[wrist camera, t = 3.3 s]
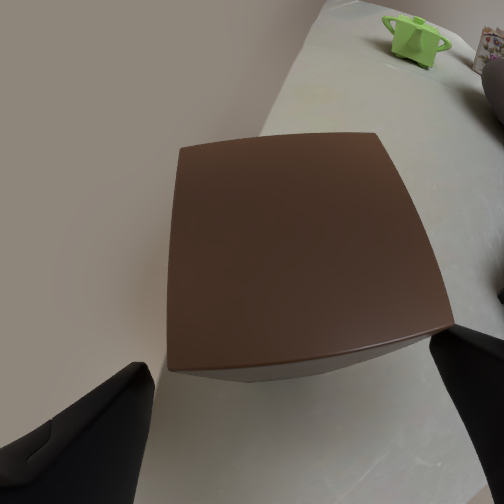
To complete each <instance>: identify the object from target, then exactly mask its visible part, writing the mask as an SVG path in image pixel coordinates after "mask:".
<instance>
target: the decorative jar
mask: <svg viewBox="0 0 504 504" xmlns="http://www.w3.org/2000/svg"><path fill="white" fill-rule="evenodd" d="M496 58H504V31H503V30H502V29H500V28H498V27H497V29H496V32H495V31H494V30H492V29H491V28H489V27H486V26H485V27H484V29H483V31H482V36H481V39H480V43H479V46H478V49H477V53H476V56H475V60H474V63H473V66H472V70H473V71H475V72H476V73H478V74H479V75H481V76H482V70H483V68H484V66H485V65H486V63H487V62H489V61H490V60H492V59H496Z"/></svg>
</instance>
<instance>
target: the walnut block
mask: <svg viewBox="0 0 504 504" xmlns="http://www.w3.org/2000/svg"><path fill="white" fill-rule="evenodd" d="M453 325H454V318H453V314H452V310H451V306H450V303H449V299H448V295H447V292H446V288H445V285H444V282H443V279H442V275H441V272H440V269H439V266H438V263H437V261H436V258H435V255H434V252H433V249H432V247H431V244H430V241H429V239H428V236H427V234H426V231H425V229H424V226H423V224H422V222H421V219H420V217H419V215H418V212H417V210H416V208H415V206H414V204H413V201H412V199H411V197H410V195H409V193H408V191H407V189H406V187H405V185H404V183H403V181H402V179H401V177H400V175H399V173H398V171H397V169H396V168H395V166H394V164H393V162H392V160H391V158H390V157H389V155H388V153H387V151H386V150H385V148H384V146H383V145H382V143H381V141H380V139H379V138H378V136H377V135H376V134H375V133H358V132H337V133H304V134H287V135H274V136H263V137H253V138H244V139H235V140H228V141H220V142H214V143H207V144H201V145H195V146H189V147H184V148H181V149H180V152H179V159H178V167H177V173H176V182H175V190H174V200H173V209H172V220H171V233H170V246H169V262H168V284H167V368H168V370H169V371H171V372H176V373H182V374H187V375H193V376H200V377H206V378H213V379H220V380H228V381H237V382H246V383H252V382H263V381H273V380H281V379H289V378H297V377H304V376H310V375H316V374H322V373H326V372H330V371H333V370H337V369H340V368H344V367H347V366H351V365H354V364H357V363H360V362H363V361H367V360H370V359H373V358H376V357H379V356H381V355H384V354H387V353H390V352H393V351H395V350H398V349H401V348H403V347H406V346H408V345H411V344H413V343H416V342H418V341H421V340H423V339H425V338H428V337H430V336H432V335H435V334H437V333H439V332H441V331H444V330H446V329H448V328H450V327H452V326H453Z"/></svg>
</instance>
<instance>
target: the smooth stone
mask: <svg viewBox="0 0 504 504" xmlns="http://www.w3.org/2000/svg"><path fill="white" fill-rule="evenodd" d="M481 79H482V86H483V89H484V92H485V95H486V98H487V100H488V102H489V104H490V106H491V107H492V109H493V111H494V113H495V114H496V116H497V117H498V119H499V120H500V121H501V123H502V124H503V126H504V58H496V59H492V60H490V61H489V62H487V63H486V65H485V66H484V68H483V70H482V76H481Z"/></svg>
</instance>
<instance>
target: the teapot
mask: <svg viewBox="0 0 504 504" xmlns="http://www.w3.org/2000/svg"><path fill="white" fill-rule="evenodd" d="M390 20H394V21H396V27H395V31H394V30H393V28H392V26H391V25H390ZM382 21H383V23H384V25H385V26H386V28H387V29H388V30H389V31H390V32H391V33H392V34H393V35H394V39H393V44H392V50H391V52H394V53H396V54H395V55H396V56H397V57H400V58H405V57H407V58H410V59H412V60H415V61H417V62H418V64H419V65H420V66H422V67H424V68H427V66H429V67H431V68H432V67H433V63H434V59H435V56H436V52H440V51H445V50H448V49H450V48H451V47H452V44H451V42H450V41H449V40H448V39H446V38H445V37H443V36H441V35H440V34H439V32H438V30H437V29H436V28H434V27H432V26H429V25H427V24H424V23H425V20H424V19H422V18H420V17H417V16H414V19H412V18H409V17H406V16H403V15H399V17H398V18H395V17H391V16H384V17H382ZM440 39H442V40H443V41H444V44H443V45H442V46H440V47H438V44H439V40H440Z"/></svg>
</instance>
